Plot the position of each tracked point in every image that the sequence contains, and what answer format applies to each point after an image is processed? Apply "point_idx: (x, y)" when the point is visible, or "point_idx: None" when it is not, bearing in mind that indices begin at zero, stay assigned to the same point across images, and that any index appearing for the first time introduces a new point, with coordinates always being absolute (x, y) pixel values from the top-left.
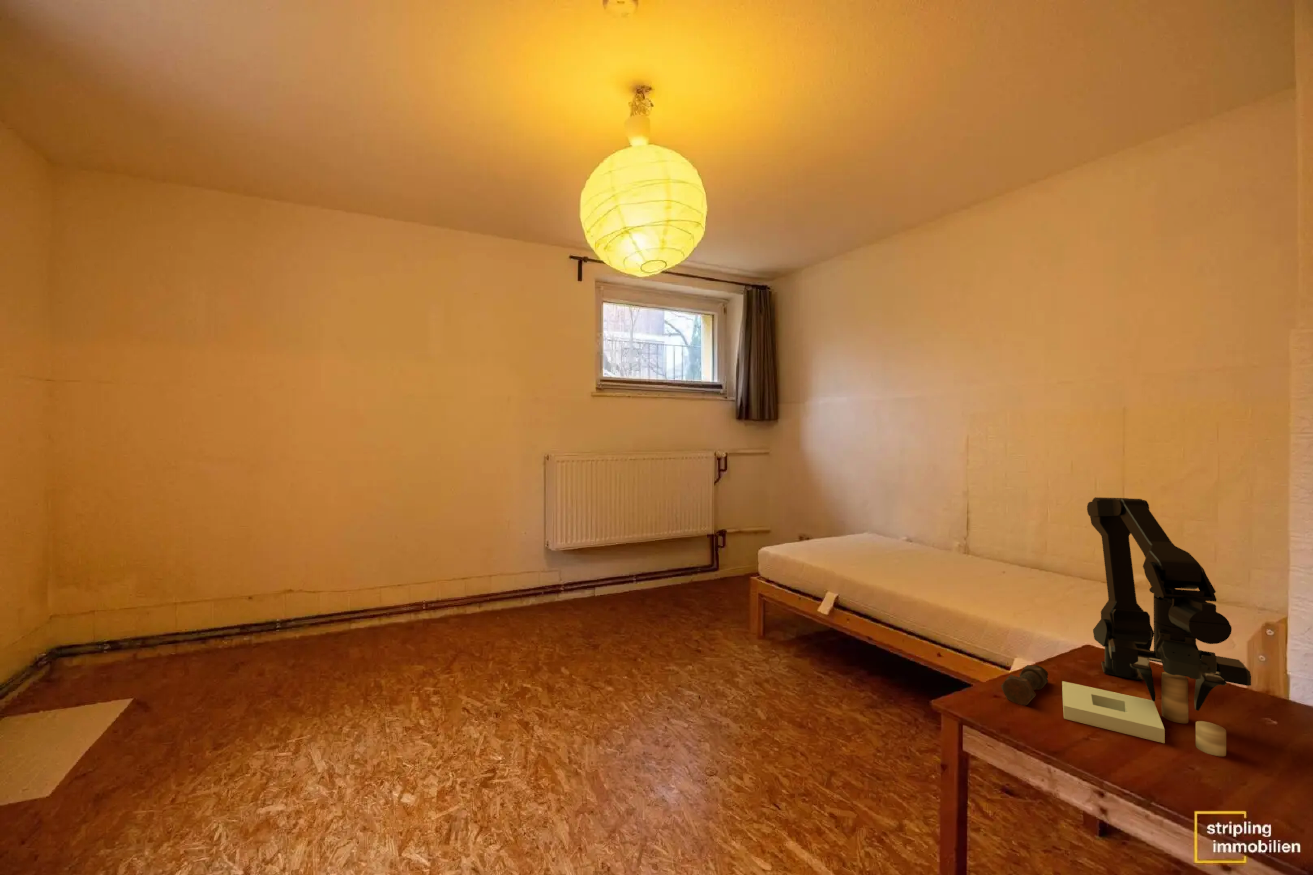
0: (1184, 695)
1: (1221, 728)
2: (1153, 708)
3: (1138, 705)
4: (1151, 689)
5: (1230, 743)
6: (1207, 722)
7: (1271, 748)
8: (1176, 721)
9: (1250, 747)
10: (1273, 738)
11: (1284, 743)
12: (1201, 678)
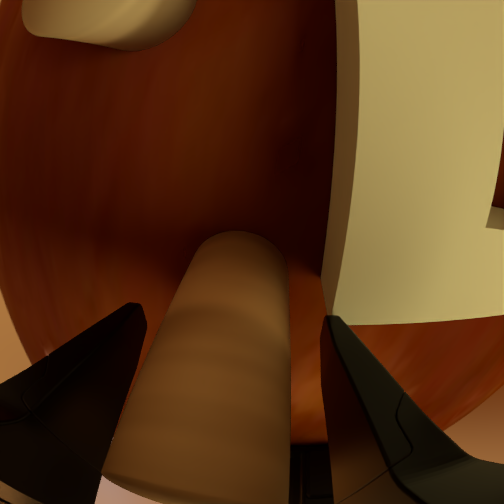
0: (155, 355)
1: (32, 3)
2: (368, 201)
3: (442, 201)
4: (363, 368)
5: (72, 138)
6: (70, 23)
7: (8, 195)
8: (238, 233)
9: (34, 154)
10: (19, 271)
11: (4, 253)
12: (11, 465)
